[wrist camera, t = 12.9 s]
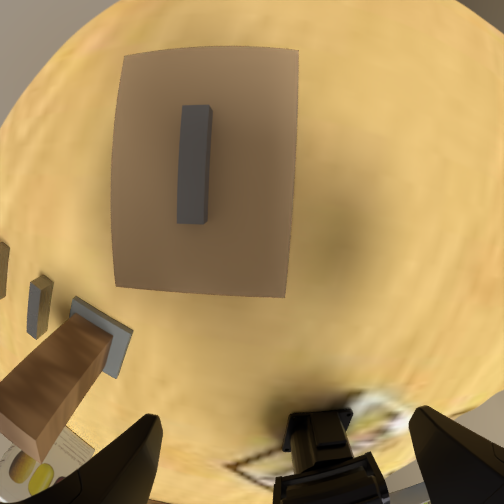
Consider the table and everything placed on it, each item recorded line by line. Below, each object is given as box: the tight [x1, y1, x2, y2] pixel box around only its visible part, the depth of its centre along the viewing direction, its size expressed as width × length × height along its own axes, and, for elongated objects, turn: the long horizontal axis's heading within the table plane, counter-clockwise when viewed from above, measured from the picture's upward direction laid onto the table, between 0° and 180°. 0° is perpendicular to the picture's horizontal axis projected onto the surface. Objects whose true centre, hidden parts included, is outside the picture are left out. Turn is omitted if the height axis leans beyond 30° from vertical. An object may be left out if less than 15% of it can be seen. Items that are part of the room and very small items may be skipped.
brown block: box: [0, 313, 113, 464], centre depth 15 cm, size 4×4×12 cm
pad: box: [69, 296, 133, 379], centre depth 21 cm, size 6×6×1 cm
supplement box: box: [0, 426, 95, 503], centre depth 18 cm, size 10×9×17 cm
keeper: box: [0, 242, 54, 340], centre depth 19 cm, size 8×6×2 cm
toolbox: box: [111, 46, 299, 298], centre depth 14 cm, size 11×8×9 cm
